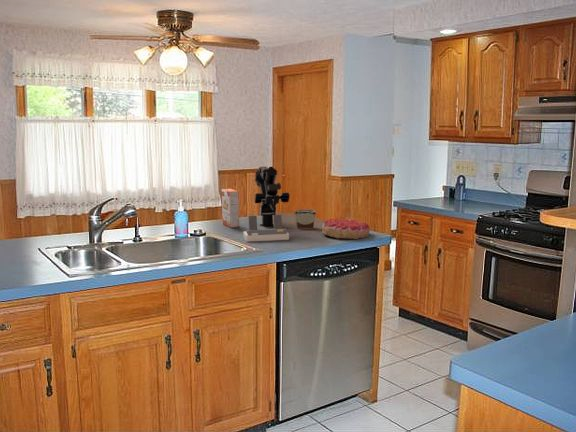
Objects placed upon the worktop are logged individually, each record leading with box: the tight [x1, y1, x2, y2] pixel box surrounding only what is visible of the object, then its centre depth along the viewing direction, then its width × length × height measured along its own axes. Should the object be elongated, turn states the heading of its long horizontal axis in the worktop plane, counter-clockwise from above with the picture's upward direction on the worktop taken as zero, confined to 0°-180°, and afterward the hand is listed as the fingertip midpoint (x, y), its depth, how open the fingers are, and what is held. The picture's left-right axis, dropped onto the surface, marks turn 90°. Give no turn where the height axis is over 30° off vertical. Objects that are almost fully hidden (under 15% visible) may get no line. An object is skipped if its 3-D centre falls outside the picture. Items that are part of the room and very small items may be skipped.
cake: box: [321, 217, 371, 240], centre depth 289 cm, size 25×25×8 cm
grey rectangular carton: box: [273, 214, 283, 229], centre depth 283 cm, size 2×4×8 cm, turn 101°
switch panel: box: [242, 227, 290, 242], centre depth 281 cm, size 11×22×6 cm, turn 102°
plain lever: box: [248, 215, 258, 230], centre depth 281 cm, size 2×4×8 cm, turn 101°
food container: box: [294, 209, 317, 230], centre depth 310 cm, size 12×6×10 cm, turn 84°
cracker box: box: [221, 188, 240, 229], centre depth 315 cm, size 14×6×21 cm, turn 25°
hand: (274, 210), depth 292 cm, fingers closed
